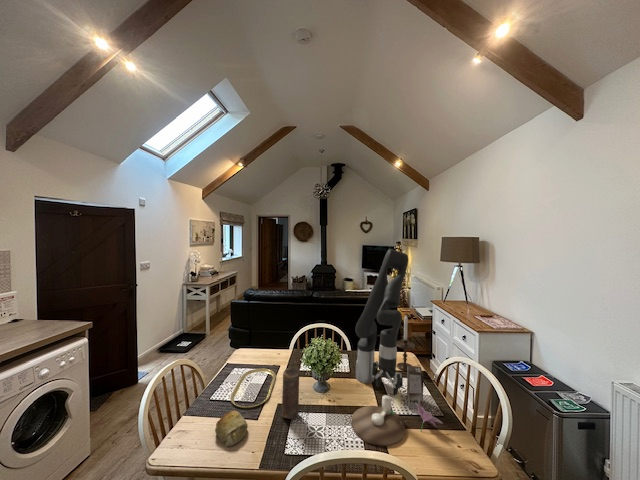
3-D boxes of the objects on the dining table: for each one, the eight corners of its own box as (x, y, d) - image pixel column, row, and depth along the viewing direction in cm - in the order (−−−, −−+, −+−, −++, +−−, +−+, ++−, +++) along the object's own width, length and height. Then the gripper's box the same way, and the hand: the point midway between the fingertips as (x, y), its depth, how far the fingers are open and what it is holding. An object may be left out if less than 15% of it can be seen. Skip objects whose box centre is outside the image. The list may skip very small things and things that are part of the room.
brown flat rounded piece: (340, 424, 119) (340, 420, 118) (371, 402, 134) (371, 399, 134) (385, 455, 103) (385, 451, 103) (414, 426, 118) (414, 422, 118)
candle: (301, 412, 126) (301, 368, 125) (294, 423, 119) (295, 377, 118) (286, 408, 129) (286, 365, 128) (278, 418, 122) (278, 373, 121)
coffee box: (423, 410, 129) (424, 375, 128) (408, 408, 130) (409, 374, 129) (420, 398, 138) (421, 366, 137) (406, 396, 139) (407, 364, 138)
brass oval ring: (224, 409, 128) (224, 406, 128) (246, 370, 163) (246, 368, 163) (265, 410, 128) (265, 407, 128) (278, 371, 163) (278, 368, 163)
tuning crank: (380, 427, 115) (380, 412, 114) (369, 422, 118) (369, 406, 118) (393, 412, 124) (394, 398, 124) (383, 407, 127) (383, 393, 127)
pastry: (221, 422, 120) (221, 403, 119) (250, 422, 120) (250, 403, 120) (208, 448, 106) (208, 427, 105) (242, 447, 106) (242, 427, 105)
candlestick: (416, 372, 163) (418, 312, 162) (398, 371, 163) (399, 312, 162) (411, 363, 174) (412, 307, 172) (393, 363, 174) (394, 307, 173)
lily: (445, 441, 111) (448, 414, 115) (420, 433, 109) (424, 406, 113) (425, 430, 122) (428, 406, 126) (402, 423, 120) (406, 399, 123)
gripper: (407, 358, 120) (405, 395, 120) (379, 346, 130) (378, 380, 131) (397, 363, 115) (395, 402, 115) (369, 351, 125) (368, 386, 126)
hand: (386, 390), depth 123 cm, fingers open, 8 cm apart
